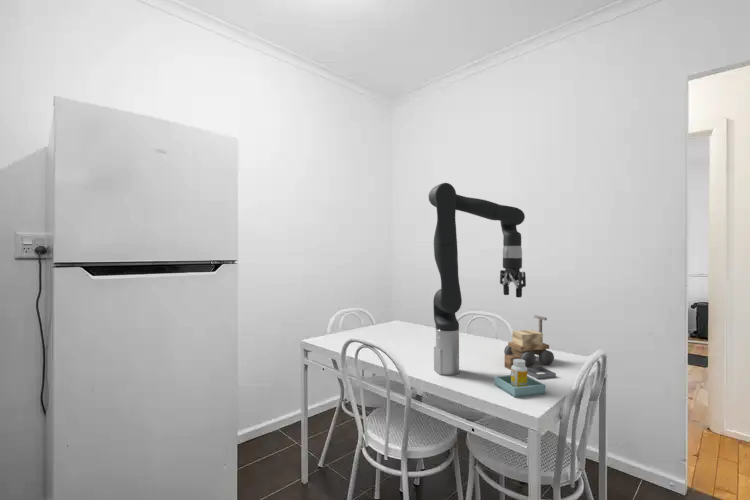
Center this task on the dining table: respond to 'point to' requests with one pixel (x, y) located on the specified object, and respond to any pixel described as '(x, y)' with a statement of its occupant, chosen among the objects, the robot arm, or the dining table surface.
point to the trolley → (530, 346)
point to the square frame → (540, 376)
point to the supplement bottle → (518, 373)
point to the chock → (510, 360)
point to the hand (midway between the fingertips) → (512, 296)
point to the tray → (531, 388)
